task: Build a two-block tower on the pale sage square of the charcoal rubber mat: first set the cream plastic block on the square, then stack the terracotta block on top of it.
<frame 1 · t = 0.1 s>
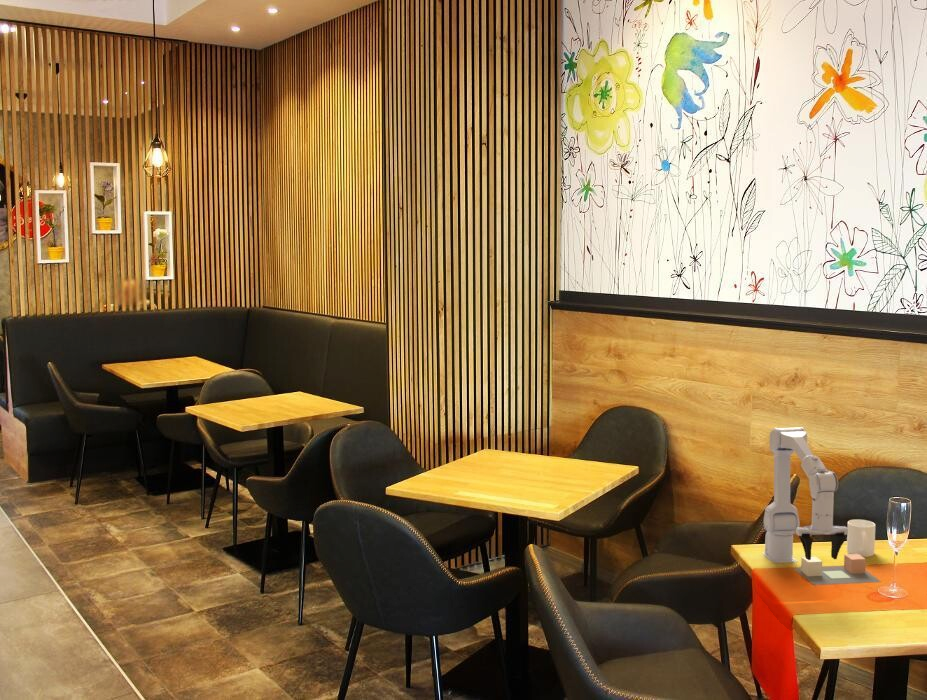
hand: (821, 558, 270), 10 cm above the table, tool pointing down, fingers open, 7 cm apart
cream block: (811, 573, 284), resting on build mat
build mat: (836, 576, 283), on the table
mug: (861, 556, 301), on the table
terracotta block: (854, 570, 286), resting on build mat
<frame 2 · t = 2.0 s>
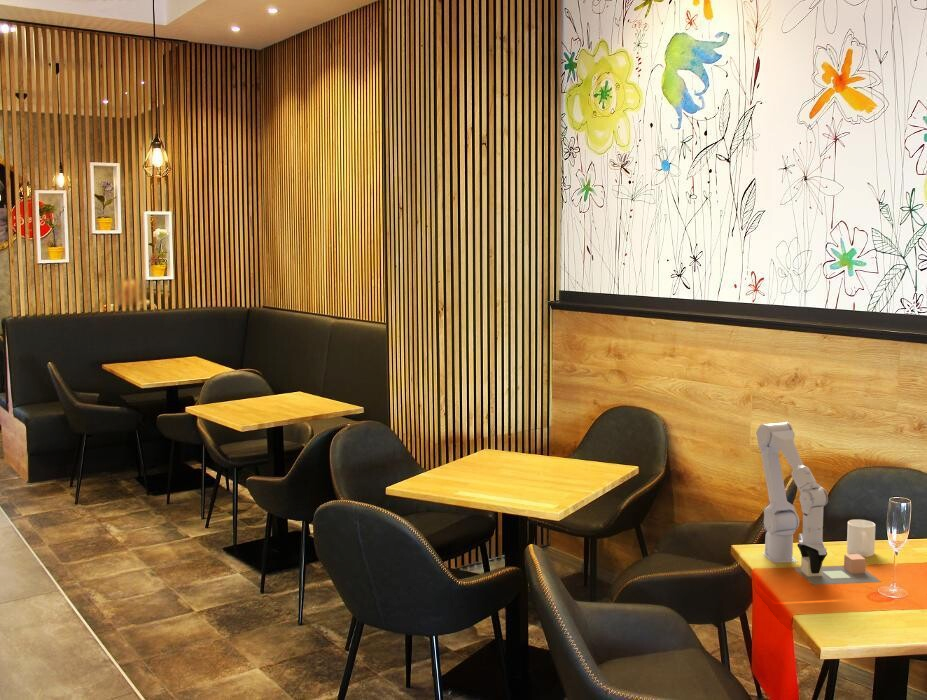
hand: (811, 570, 284), 2 cm above the table, tool pointing down, fingers closed on cream block, 4 cm apart
cream block: (811, 573, 284), resting on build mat, touching gripper
everything else where it was.
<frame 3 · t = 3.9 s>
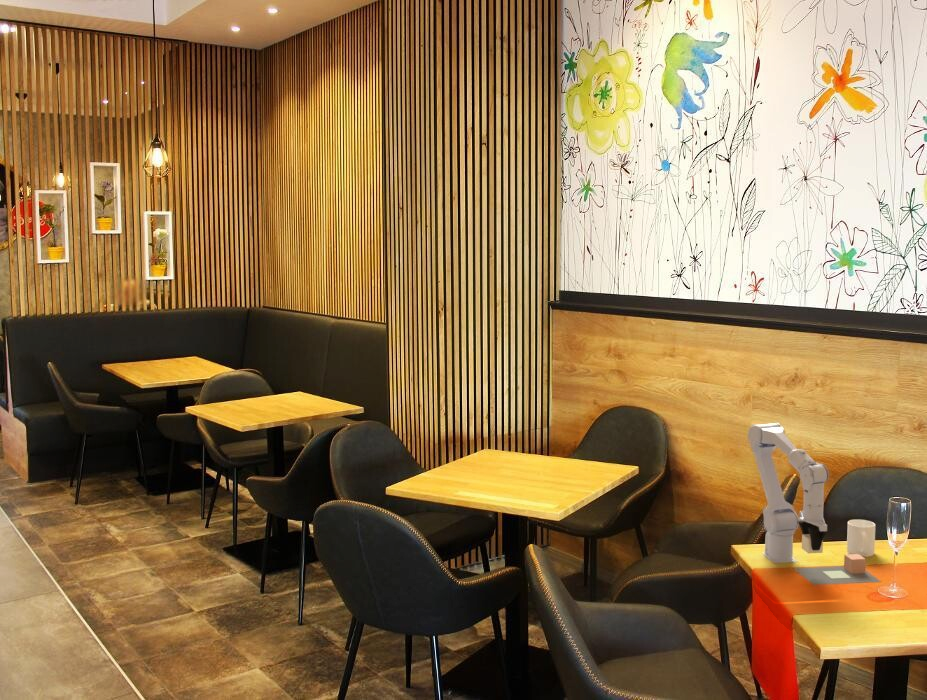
hand: (812, 547, 283), 9 cm above the table, tool pointing down, fingers closed on cream block, 4 cm apart
cream block: (812, 550, 284), point 8 cm above the table, touching gripper
everything else where it was.
when the fingers open (3 cm above the table, at t = 6.1 s): cream block drops 1 cm, resting on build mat.
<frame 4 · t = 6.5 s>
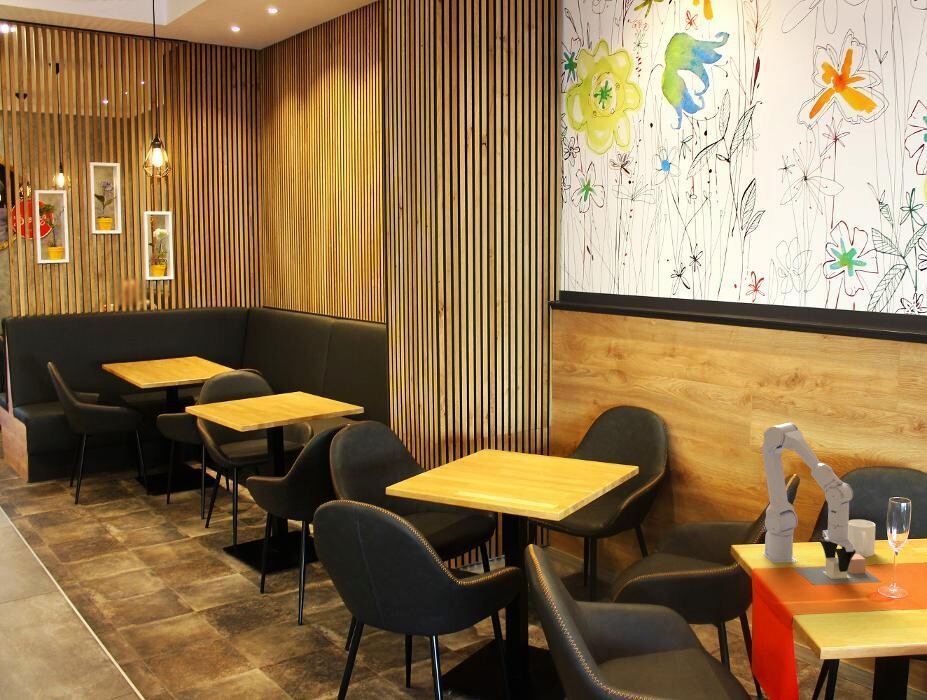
hand: (836, 566, 283), 3 cm above the table, tool pointing down, fingers open, 7 cm apart
cream block: (836, 574, 283), point 1 cm above the table, touching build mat
everything else where it was.
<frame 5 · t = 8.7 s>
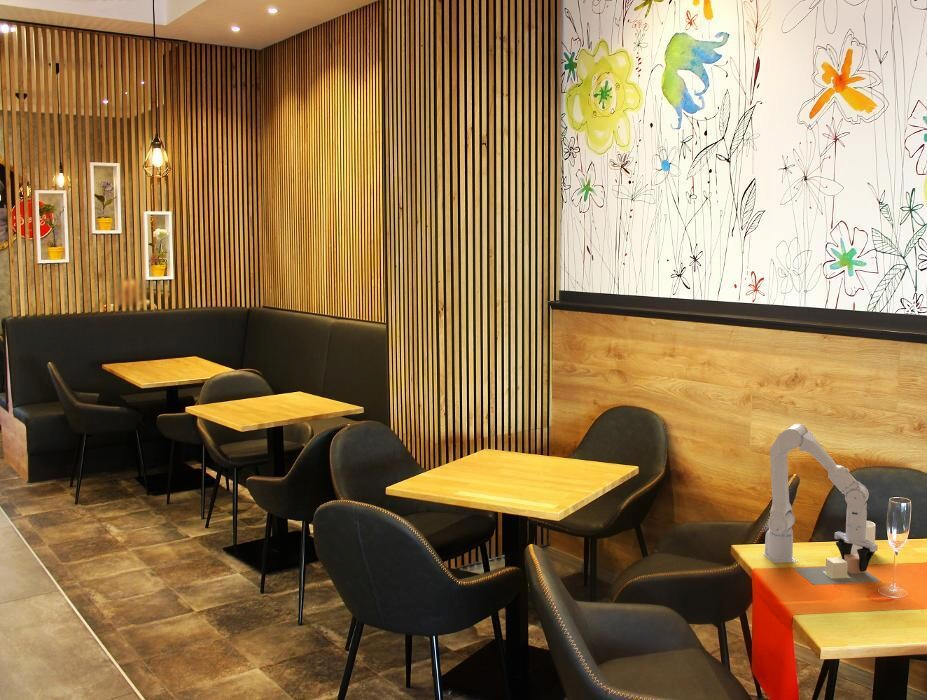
hand: (854, 567, 286), 2 cm above the table, tool pointing down, fingers closed on terracotta block, 6 cm apart
terracotta block: (854, 570, 286), resting on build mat, touching gripper
everything else where it was.
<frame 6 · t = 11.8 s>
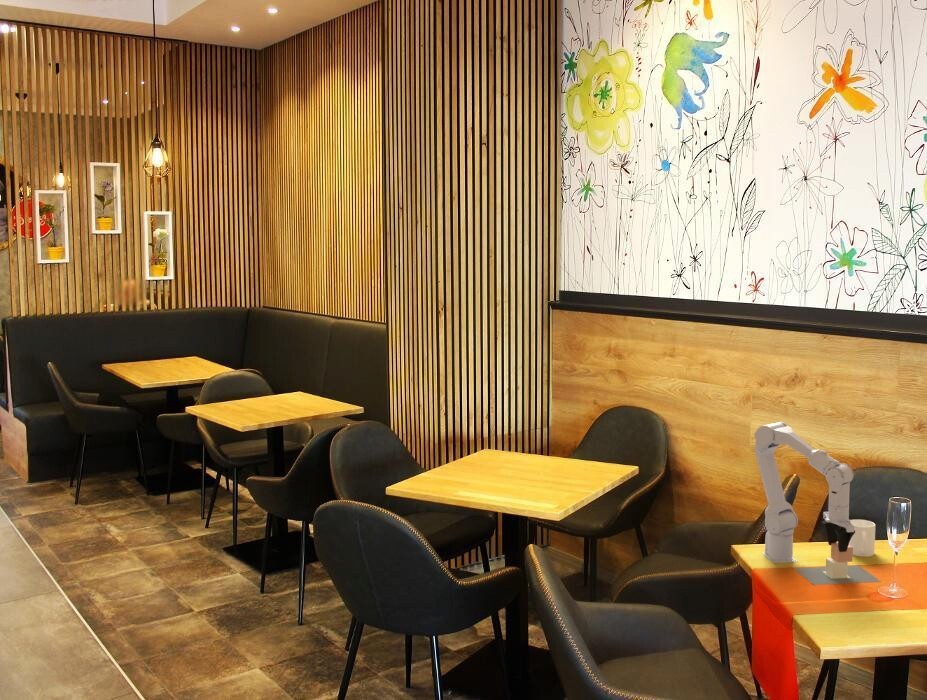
hand: (837, 548, 282), 9 cm above the table, tool pointing down, fingers open, 5 cm apart
cream block: (836, 574, 283), point 1 cm above the table, touching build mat, terracotta block
terracotta block: (841, 559, 283), point 5 cm above the table, touching cream block
everything else where it was.
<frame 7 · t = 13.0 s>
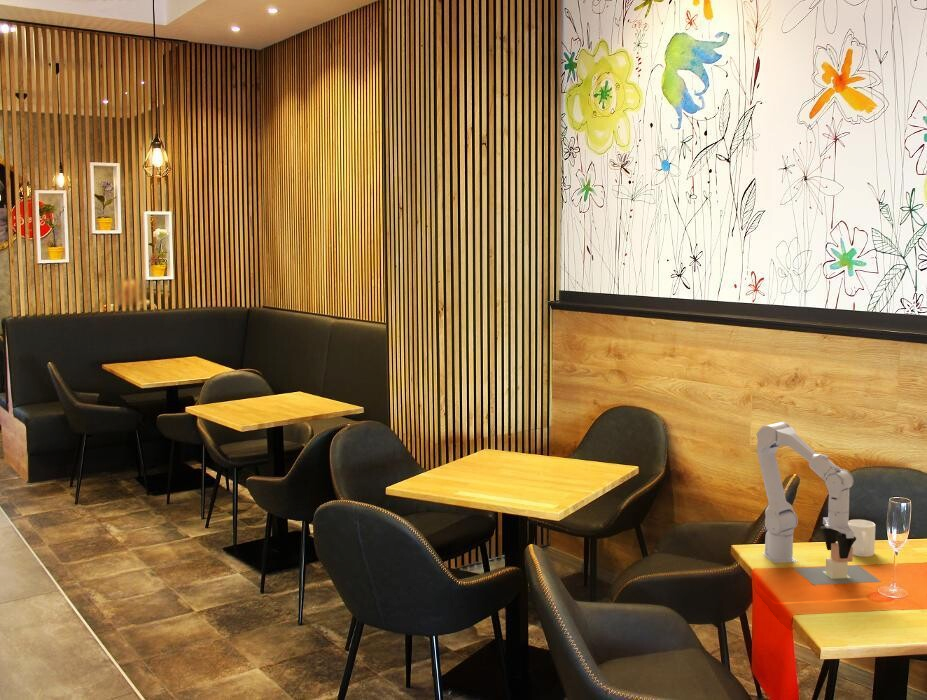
hand: (837, 553, 282), 7 cm above the table, tool pointing down, fingers open, 7 cm apart
nothing on the table moved.
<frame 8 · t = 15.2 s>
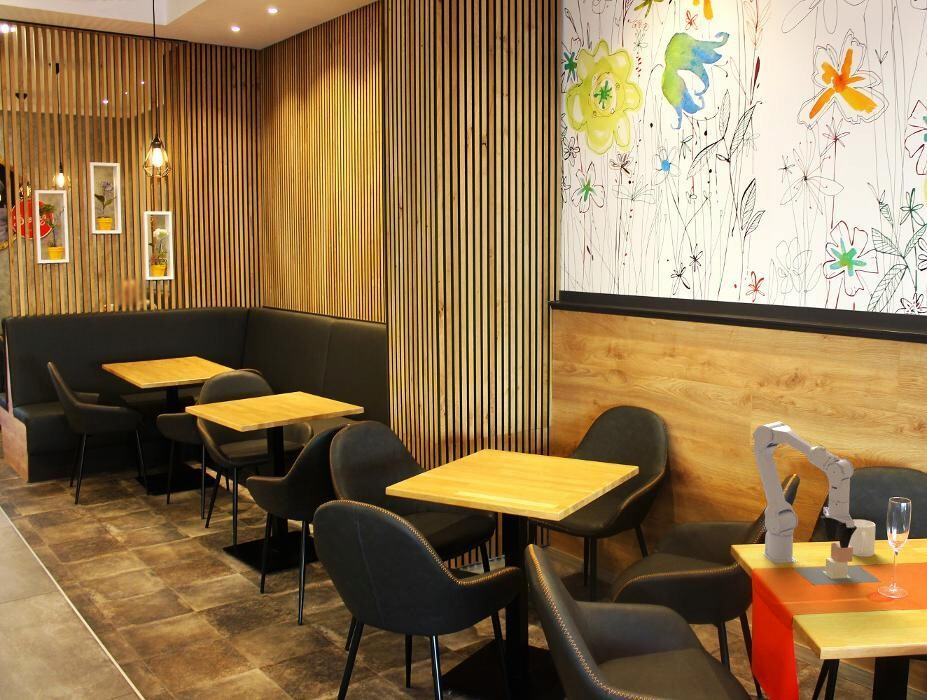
hand: (837, 543, 282), 10 cm above the table, tool pointing down, fingers open, 7 cm apart
nothing on the table moved.
at the end: cream block 0.0 cm off-centre on the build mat, point 0.6 cm above the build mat's base; terracotta block 1.8 cm off-centre on the cream block, point 4.5 cm above the cream block's base; terracotta block tilted 0° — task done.
